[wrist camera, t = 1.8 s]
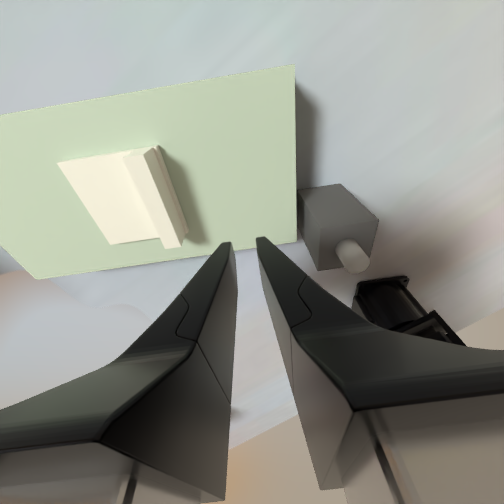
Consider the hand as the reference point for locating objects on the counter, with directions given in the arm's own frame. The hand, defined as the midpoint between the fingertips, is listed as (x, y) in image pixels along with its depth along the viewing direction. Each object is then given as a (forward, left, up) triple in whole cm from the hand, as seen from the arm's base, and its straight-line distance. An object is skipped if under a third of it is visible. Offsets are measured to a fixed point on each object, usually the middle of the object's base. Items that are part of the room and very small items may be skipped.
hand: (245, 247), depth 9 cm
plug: (-7, +5, -12) cm, 15 cm away
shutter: (+8, 0, -8) cm, 11 cm away
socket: (+8, 0, -12) cm, 14 cm away
